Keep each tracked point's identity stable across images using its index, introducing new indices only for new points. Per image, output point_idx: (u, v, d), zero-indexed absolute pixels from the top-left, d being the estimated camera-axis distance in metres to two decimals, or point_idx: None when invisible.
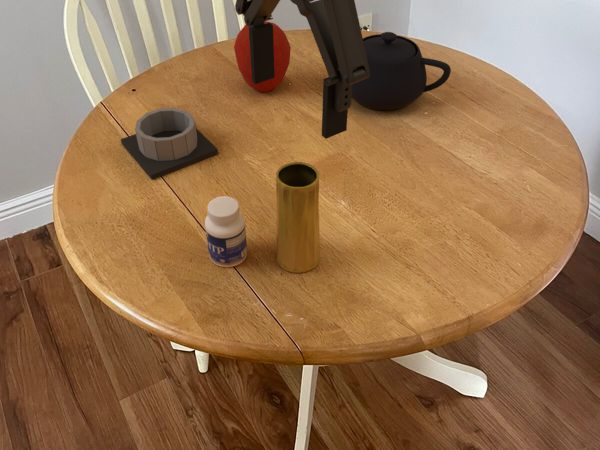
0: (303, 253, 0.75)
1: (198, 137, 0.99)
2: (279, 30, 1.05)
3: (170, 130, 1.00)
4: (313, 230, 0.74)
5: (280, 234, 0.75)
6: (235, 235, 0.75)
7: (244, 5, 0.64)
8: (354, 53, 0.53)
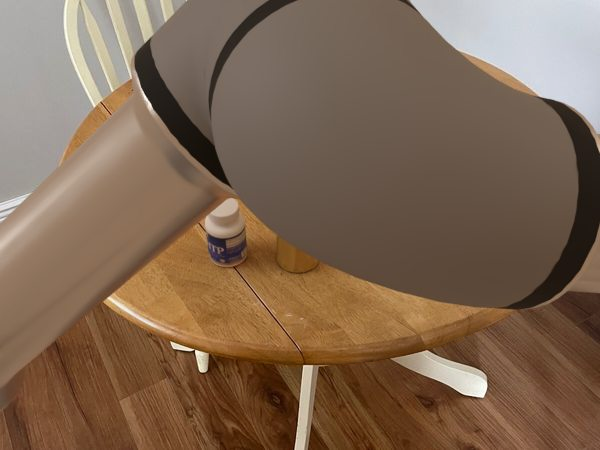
0: (303, 253, 0.75)
1: None
2: None
3: None
4: None
5: None
6: (235, 235, 0.75)
7: None
8: None
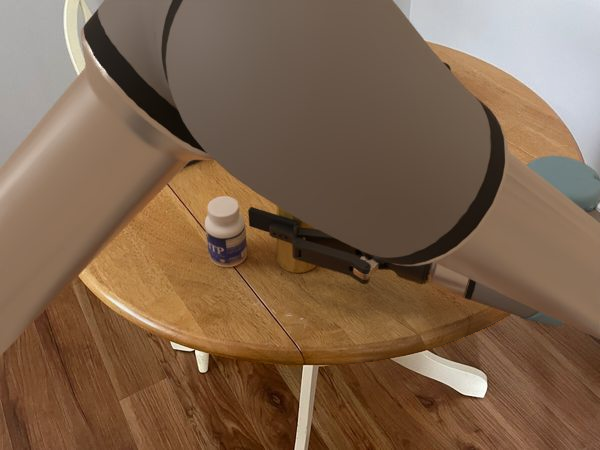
0: None
1: None
2: None
3: None
4: None
5: None
6: (235, 235, 0.75)
7: None
8: (310, 256, 0.69)
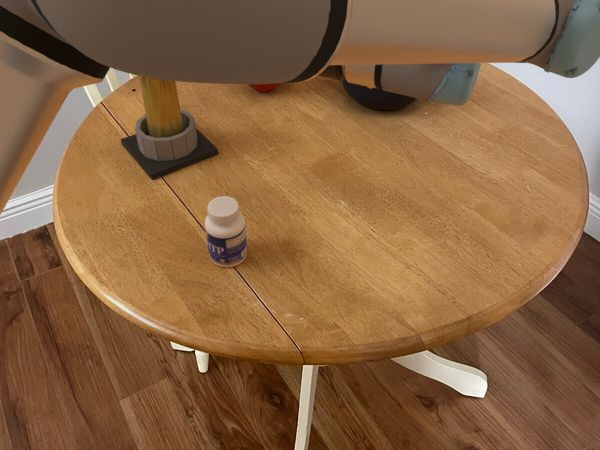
0: (167, 135, 0.93)
1: (198, 137, 0.99)
2: None
3: None
4: (173, 115, 0.92)
5: (147, 119, 0.92)
6: (235, 235, 0.75)
7: None
8: None
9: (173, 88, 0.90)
